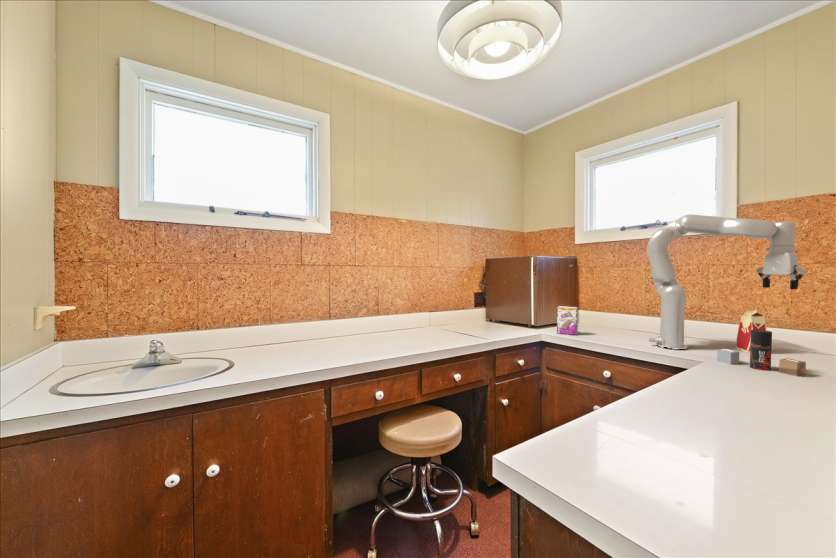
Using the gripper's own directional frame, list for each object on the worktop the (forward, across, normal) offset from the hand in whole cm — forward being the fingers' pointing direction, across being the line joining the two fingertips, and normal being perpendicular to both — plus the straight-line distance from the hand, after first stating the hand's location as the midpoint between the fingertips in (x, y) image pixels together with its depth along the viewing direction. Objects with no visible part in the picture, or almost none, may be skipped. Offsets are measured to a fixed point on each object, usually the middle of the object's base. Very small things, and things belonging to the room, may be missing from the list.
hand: (779, 288), depth 150 cm
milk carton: (+31, -10, 0) cm, 32 cm away
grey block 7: (+31, +2, -30) cm, 43 cm away
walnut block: (+31, +19, -23) cm, 43 cm away
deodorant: (+31, +11, -27) cm, 43 cm away
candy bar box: (+32, -65, -59) cm, 93 cm away
